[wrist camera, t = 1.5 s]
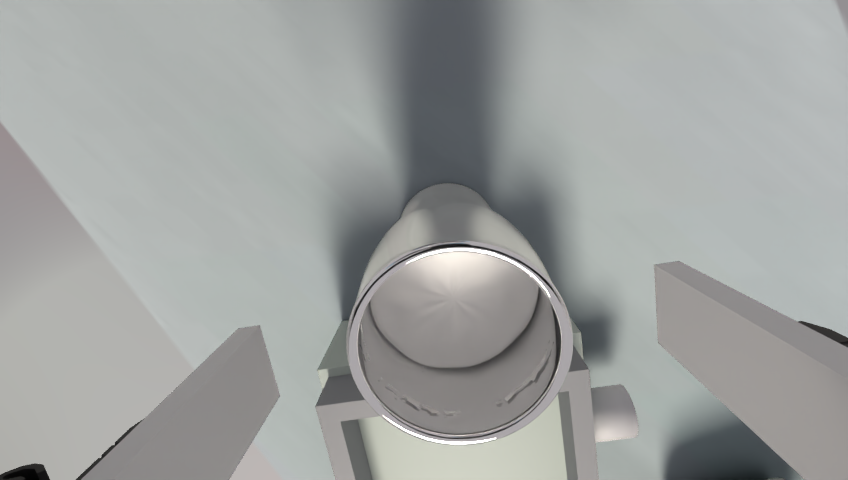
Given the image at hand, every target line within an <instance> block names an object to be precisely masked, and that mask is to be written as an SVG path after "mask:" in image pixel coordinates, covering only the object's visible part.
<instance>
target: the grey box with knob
mask: <svg viewBox="0 0 848 480" xmlns="http://www.w3.org/2000/svg"><path fill="white" fill-rule="evenodd" d="M569 317H570V316H569ZM570 320H571V325H572V332H573V353H572V360H571V364H570V368H569V371H568V374H567V377H566V379H565V382H564V384H563V386H562V388H561V389H560V391H559V393H558V394H557V396H556V397H555V399H554V400H553V401H552V403H551V404H550V405H549V406H548V407H547V408H546V409H545V410H544V412H543V413H541V414H540V415H539V416H538V417H537V418H536V419H535V420H533V421H532V422H531V423H529V424H528V425H526V426H525V427H523V428H522V429H520V430H518V431H516V432H514V433H512V434H510V435H508V436H505V437H503V438H500V439H497V440H494V441H490V442H486V443H481V444H474V445H445V444H438V443H433V442H428V441H425V440H422V439H418V438H416V437H413V436H411V435H409V434H406V433H404V432H402V431H401V430H399V429H397V428H395V427H394V426H392V425H391V424H390V423H388V422H387V421H385V420H384V419H383V418H382V417H381V416H379V415H378V414H377V413H376V412H375V411H374V410H373V409H372V408H371V406H370V405H369V404H368V403H367V402H366V400H365V399H364V397H363V396H362V394H361V393H360V391H359V389H358V388H357V386H356V384H355V381H354V379H353V377H352V374H351V371H350V367H349V363H348V358H347V350H346V336H347V328H348V323H349V320H346V321H342V322H341V324H340V326H339V328H338V330H337V332H336V334H335V336H334V338H333V340H332V342H331V344H330V346H329V348H328V350H327V352H326V354H325V356H324V358H323V360H322V362H321V364H320V366H319V368H318V370H317V371H318V375H319V379H320V382H321V386H322V393H321V395H320V397H319V400H318V402H317V404H316V406H315V407H316V411H317V414H318V418H319V421H320V425H321V429H322V432H323V436H324V440H325V443H326V447H327V450H328V454H329V458H330V461H331V465H332V469H333V472H334V476H335V480H599V477H598V466H597V455H596V444H595V442H602V441H611V440H619V439H627V438H635V437H637V436H638V420H637V415H636V411H635V408H634V405H633V402H632V400H631V398H630V396H629V394H628V392H627V390H626V389H625V388H624V386H622V385H621V384H618V385H611V386H603V387H596V388H591V387H590V376H589V369H588V367H587V365H586V364H585V362H584V360H583V349H582V338H581V332H580V330H579V329H578V328H577V326H576V325H575V323H574V322H573V321H572V319H571V318H570Z"/></svg>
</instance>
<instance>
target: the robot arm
mask: <svg viewBox="0 0 848 480" xmlns="http://www.w3.org/2000/svg"><path fill="white" fill-rule="evenodd" d="M654 273H655V293H656V313H657V333H658V343H659V344H660V345H661V346H662V347H663V348H664V349H665V350H666V351H667V352H668V353H669V354H671V355H672V356H673V357H674V358H675V359H676V360H677V361H678V362H679V363H680V364H681V365H682V366H683V367H684V368H686V369H687V370H688V371H689V372H690V373H691V374H692V375H693V376H694V377H695V378H696V379H697V380H698V381H699V382H701V383H702V384H703V385H704V386H705V387H706V388H707V389H708V390H709V391H710V392H711V393H712V394H713V395H715V396H716V397H717V398H718V399H719V400H720V401H721V402H722V403H723V404H724V405H725V406H726V407H727V408H728V409H730V410H731V411H732V412H733V413H734V414H735V415H736V416H737V417H738V418H739V419H740V420H741V421H742V422H744V423H745V424H746V425H747V426H748V427H749V428H750V429H751V430H752V431H753V432H754V433H755V434H756V435H757V436H759V437H760V438H761V439H762V440H763V441H764V442H765V443H766V444H767V445H768V446H769V447H770V448H771V449H772V450H774V451H775V452H776V453H777V454H778V455H779V456H780V457H781V458H782V459H783V460H784V461H785V462H786V463H788V464H789V465H790V466H791V467H792V468H793V469H794V470H795V471H796V472H797V473H798V474H799V475H800V476H801V477H803V478H804V479H805V480H848V338H847V337H845V336H843V335H841V334H839V333H837V332H835V331H833V330H830V329H827V328H824V327H820V326H817V325H813V324H810V323H807V322H803V321H799V322H797V321H795V320H793V319H791V318H789V317H787V316H785V315H783V314H781V313H779V312H777V311H775V310H773V309H771V308H770V307H768V306H766V305H764V304H762V303H760V302H758V301H756V300H754V299H752V298H750V297H748V296H746V295H744V294H742V293H740V292H738V291H736V290H734V289H732V288H730V287H729V286H727V285H725V284H723V283H721V282H719V281H717V280H715V279H713V278H711V277H709V276H707V275H705V274H703V273H701V272H699V271H697V270H695V269H693V268H691V267H690V266H688V265H686V264H684V263H682V262H680V261H675V262H669V263H662V264H656V265H654ZM279 397H280V394H279V390H278V387H277V383H276V380H275V376H274V373H273V370H272V366H271V363H270V359H269V356H268V352H267V349H266V345H265V342H264V338H263V335H262V331H261V328H260V325H258V326H251V327H245V328H238V329H237V330H236V331H235V332H234V333H233V334H232V335H231V336H230V337H229V338H228V339H227V340H226V341H225V342H224V343H223V344H222V345H221V346H220V347H218V348H217V349H216V350H215V351H214V352H213V353H212V354H211V355H210V356H209V357H208V358H207V359H206V360H205V361H204V362H203V363H202V364H201V365H200V366H199V367H198V368H197V369H196V370H195V371H194V372H192V374H190V375H189V376H188V377H187V378H186V379H185V380H184V381H183V382H182V383H181V384H180V385H179V386H178V387H177V388H176V389H175V390H174V391H173V392H172V393H171V394H170V395H169V396H168V397H166V398H165V399H164V400H163V401H162V402H161V403H160V404H159V405H158V406H157V407H156V408H155V409H154V410H153V411H152V412H151V413H150V414H149V415H148V416H147V417H146V418H144V419H143V420H141V421H140V422H138V423H137V424H135V425H134V426H133V427H131V428H130V429H129V430H128V431H127V432H126V433H125V434H124V435H122V437H120V438H119V439H118V440H117V441H116V442H115V445H113V446H111V447H110V448H109V449H108V450H107V451H106V452H104V454H102V457H101V458H98V459H97V460H96V461H95V462H94V463H93V464H92V465H91V466H90V467H89V468H88V469H87V470H86V471H84V472H83V473H82V474H81V475H80V476H79V477H78V478H77V479H76V480H229V479H230V477H231V476H232V474H233V472H234V471H235V469H236V467H237V466H238V464H239V463H240V461H241V459H242V458H243V456H244V454H245V453H246V451H247V449H248V448H249V446H250V445H251V443H252V441H253V440H254V438H255V436H256V435H257V433H258V431H259V430H260V428H261V426H262V425H263V423H264V422H265V420H266V418H267V417H268V415H269V413H270V412H271V410H272V408H273V407H274V405H275V403H276V402H277V400H278V398H279ZM0 480H50V479H49V476H48V474H47V472H46V470H45V468H44V465H42V464H31V465H25V466H21V467H18V468H16V469H13V470H10V471H8V472H5V473H3V474H1V475H0Z"/></svg>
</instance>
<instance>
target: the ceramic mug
mask: <svg viewBox="0 0 848 480" xmlns="http://www.w3.org/2000/svg"><path fill="white" fill-rule="evenodd" d="M766 480H786V479H784V478H769V479H766Z"/></svg>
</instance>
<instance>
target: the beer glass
mask: <svg viewBox="0 0 848 480" xmlns="http://www.w3.org/2000/svg"><path fill="white" fill-rule="evenodd" d="M346 350H347V358H348V363H349V367H350V371H351V374H352V377H353V379H354V381H355V384H356V386H357V388H358V389H359V391H360V393H361V394H362V396H363V397H364V399H365V400H366V402H367V403H368V404H369V405H370V406H371V408H372V409H373V410H374V411H375V412H376V413H377V414H378V415H379V416H381V417H382V418H383V419H384V420H385V421H387V422H388V423H390V424H391V425H392V426H394V427H395V428H397V429H399V430H401V431H402V432H404V433H406V434H409V435H411V436H413V437H416V438H418V439H422V440H425V441H428V442H433V443H438V444H445V445H474V444H481V443H486V442H490V441H494V440H497V439H500V438H503V437H505V436H508V435H510V434H512V433H514V432H516V431H518V430H520V429H522V428H523V427H525V426H526V425H528V424H529V423H531V422H532V421H533V420H535V419H536V418H537V417H538V416H539V415H540V414H541V413H543V412H544V410H545V409H546V408H547V407H548V406H549V405H550V404H551V403H552V401H553V400H554V399H555V397H556V396H557V394H558V393H559V391H560V389H561V388H562V386H563V384H564V382H565V379H566V377H567V374H568V371H569V368H570V364H571V360H572V353H573V332H572V325H571V320H570V317H569V313H568V310H567V308H566V305H565V303H564V301H563V299H562V297H561V295H560V293H559V292H558V290H557V289H556V287H555V286H554V284H553V282H552V280H551V278H550V276H549V274H548V272H547V270H546V268H545V266H544V265H543V263H542V261H541V259H540V258H539V256H538V255H537V253H536V252H535V250H534V249H533V247H532V246H531V244H530V243H529V242H528V240H527V239H526V238H525V237H524V236H523V235H522V234H521V233H520V232H519V231H518V230H517V229H516V228H515V227H514V226H513V225H512V224H511V223H510V222H509V221H508V220H506V219H505V218H504V217H502V216H501V215H499V214H498V213H496V212H494V211H492V210H491V209H490V207H489V205H488V204H487V202H486V201H485V200H484V199H483V198H482V197H481V196H480V195H479V194H478V193H477V192H475V191H474V190H472V189H470V188H468V187H466V186H463V185H459V184H454V183H443V184H437V185H433V186H430V187H427V188H425V189H423V190H422V191H420V192H419V193H417V194H416V195H415V196H414V197H413V198H412V199H411V200H410V201H409V202H408V204H407V205H406V207H405V208H404V210H403V212H402V215H401V218H400V220H399V221H397V222H396V223H395V224H394V225H393V226H392V227H391V228H390V229H389V230H388V231H387V233H386V234H385V235H384V236H383V238H382V239H381V241H380V242H379V244H378V245H377V247H376V248H375V250H374V252H373V254H372V255H371V258H370V260H369V262H368V265H367V267H366V269H365V272H364V274H363V277H362V280H361V284H360V287H359V290H358V294H357V298H356V302H355V304H354V307H353V309H352V312H351V315H350V318H349V323H348V328H347V336H346Z"/></svg>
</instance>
